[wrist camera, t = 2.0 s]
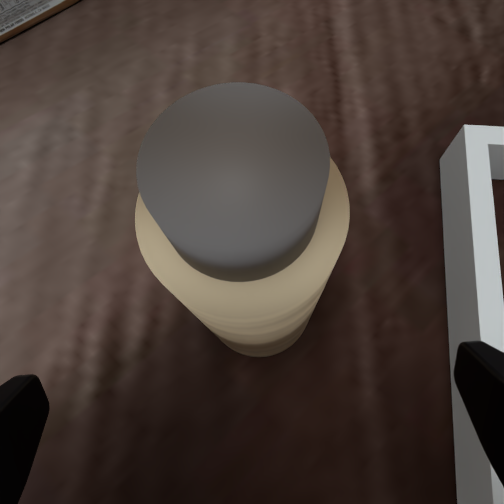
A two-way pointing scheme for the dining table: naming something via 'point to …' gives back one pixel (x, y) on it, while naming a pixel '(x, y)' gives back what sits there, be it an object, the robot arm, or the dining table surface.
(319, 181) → the pepper mill
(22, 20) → the tin
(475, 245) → the white square frame
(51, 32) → the dining table surface
